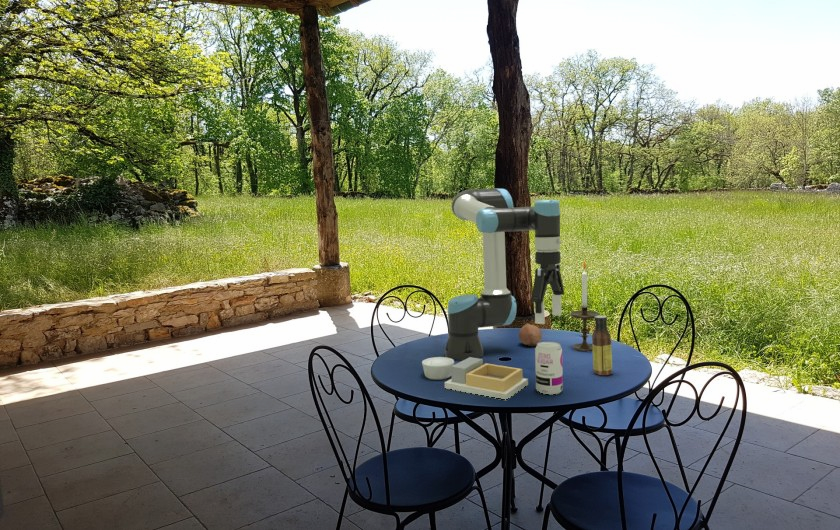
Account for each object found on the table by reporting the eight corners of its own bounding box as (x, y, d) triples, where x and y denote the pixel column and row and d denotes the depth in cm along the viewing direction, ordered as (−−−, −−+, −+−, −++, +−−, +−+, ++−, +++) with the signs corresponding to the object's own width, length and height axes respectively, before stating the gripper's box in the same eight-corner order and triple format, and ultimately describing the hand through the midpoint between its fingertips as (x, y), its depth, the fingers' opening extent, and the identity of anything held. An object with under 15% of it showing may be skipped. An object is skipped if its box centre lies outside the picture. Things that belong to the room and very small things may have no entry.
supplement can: (560, 386, 173) (559, 340, 171) (564, 395, 165) (564, 347, 163) (534, 386, 174) (533, 341, 172) (537, 395, 165) (536, 348, 164)
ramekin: (417, 373, 191) (417, 359, 191) (445, 369, 196) (445, 355, 195) (430, 383, 181) (430, 367, 180) (460, 377, 185) (459, 363, 185)
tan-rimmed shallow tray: (444, 388, 175) (444, 367, 174) (469, 374, 188) (468, 355, 187) (506, 400, 162) (505, 378, 162) (528, 384, 175) (527, 364, 174)
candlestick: (574, 344, 222) (574, 259, 218) (601, 346, 216) (601, 260, 212) (567, 350, 213) (566, 262, 209) (595, 353, 207) (595, 263, 203)
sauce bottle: (612, 371, 186) (612, 314, 184) (612, 376, 180) (612, 318, 178) (592, 369, 188) (592, 314, 186) (591, 375, 182) (591, 317, 180)
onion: (523, 350, 226) (517, 327, 229) (545, 345, 224) (539, 321, 227) (520, 348, 217) (514, 324, 220) (543, 342, 215) (536, 318, 218)
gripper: (543, 254, 152) (544, 328, 154) (573, 247, 172) (574, 312, 174) (518, 254, 156) (520, 326, 158) (551, 247, 176) (552, 311, 178)
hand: (548, 319), depth 166 cm, fingers open, 13 cm apart
